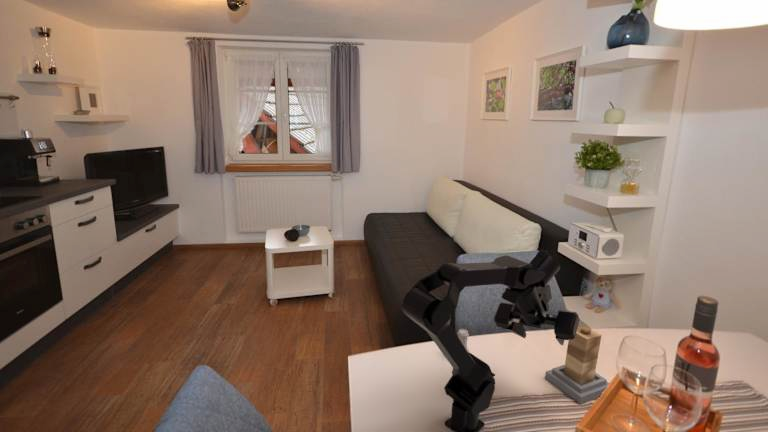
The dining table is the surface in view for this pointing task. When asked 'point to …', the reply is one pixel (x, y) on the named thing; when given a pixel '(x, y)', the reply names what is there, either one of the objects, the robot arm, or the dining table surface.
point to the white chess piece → (463, 337)
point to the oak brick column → (582, 355)
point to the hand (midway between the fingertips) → (543, 339)
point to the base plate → (577, 385)
